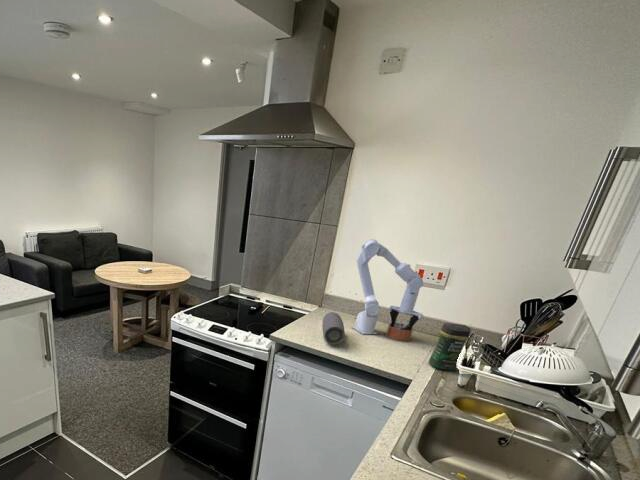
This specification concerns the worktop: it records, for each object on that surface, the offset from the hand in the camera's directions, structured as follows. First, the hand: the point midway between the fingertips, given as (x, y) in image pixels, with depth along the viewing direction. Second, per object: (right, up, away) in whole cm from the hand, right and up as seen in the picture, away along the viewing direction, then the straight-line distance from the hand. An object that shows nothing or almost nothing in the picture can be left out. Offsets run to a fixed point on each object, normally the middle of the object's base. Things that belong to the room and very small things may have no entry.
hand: (400, 328), depth 188 cm
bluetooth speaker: (-36, -5, -7) cm, 37 cm away
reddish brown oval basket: (+1, -4, +3) cm, 5 cm away
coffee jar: (+2, -18, -28) cm, 34 cm away
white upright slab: (0, -3, +1) cm, 4 cm away
